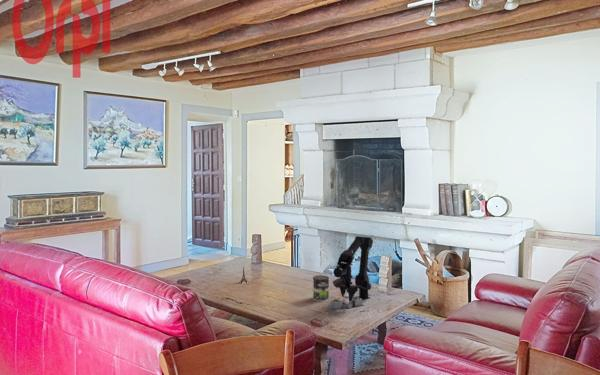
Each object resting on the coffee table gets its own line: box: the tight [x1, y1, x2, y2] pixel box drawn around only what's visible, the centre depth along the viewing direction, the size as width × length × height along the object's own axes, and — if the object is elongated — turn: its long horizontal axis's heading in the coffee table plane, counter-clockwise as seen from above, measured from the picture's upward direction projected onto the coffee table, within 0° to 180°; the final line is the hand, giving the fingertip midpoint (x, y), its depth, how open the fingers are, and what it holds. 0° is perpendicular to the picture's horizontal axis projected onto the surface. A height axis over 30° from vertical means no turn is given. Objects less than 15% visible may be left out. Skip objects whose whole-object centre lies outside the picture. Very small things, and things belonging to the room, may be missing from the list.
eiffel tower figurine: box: [239, 265, 248, 285], centre depth 332 cm, size 15×10×13 cm
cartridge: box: [342, 293, 350, 305], centre depth 278 cm, size 4×4×7 cm
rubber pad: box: [325, 309, 339, 315], centre depth 268 cm, size 6×6×1 cm
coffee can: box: [312, 274, 330, 302], centre depth 293 cm, size 10×10×14 cm
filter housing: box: [328, 297, 365, 311], centre depth 278 cm, size 8×21×4 cm, turn 112°
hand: (346, 299), depth 278 cm, fingers open, 9 cm apart
